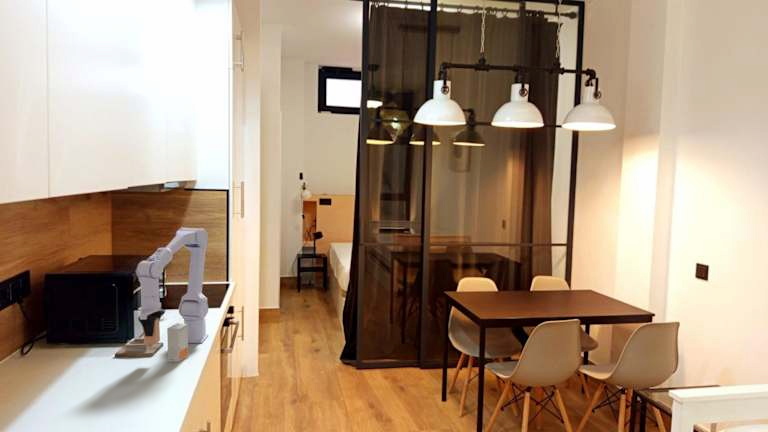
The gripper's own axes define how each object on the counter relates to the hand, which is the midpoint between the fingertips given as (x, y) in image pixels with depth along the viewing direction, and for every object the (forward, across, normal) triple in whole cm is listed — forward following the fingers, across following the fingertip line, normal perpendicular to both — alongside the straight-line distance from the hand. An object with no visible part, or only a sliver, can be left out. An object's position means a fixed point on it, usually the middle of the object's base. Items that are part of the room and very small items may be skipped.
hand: (151, 333), depth 177 cm
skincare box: (+10, -2, +8) cm, 13 cm away
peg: (+3, 0, 0) cm, 3 cm away
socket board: (+10, -11, -8) cm, 17 cm away
